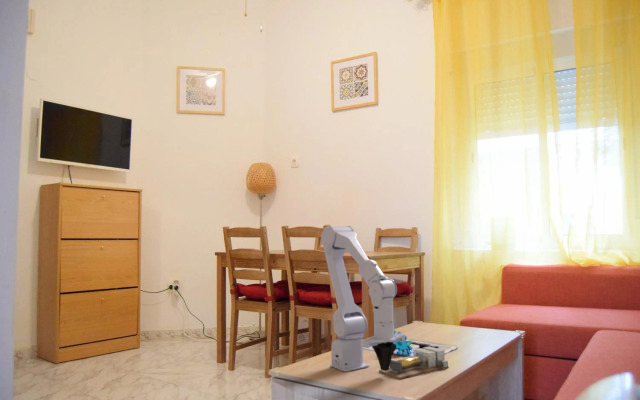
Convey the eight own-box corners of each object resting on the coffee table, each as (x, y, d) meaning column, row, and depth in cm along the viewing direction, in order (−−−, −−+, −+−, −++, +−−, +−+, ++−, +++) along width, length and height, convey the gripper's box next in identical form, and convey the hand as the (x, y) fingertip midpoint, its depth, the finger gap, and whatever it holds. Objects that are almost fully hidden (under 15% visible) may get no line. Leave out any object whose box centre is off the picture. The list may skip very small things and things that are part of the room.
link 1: (428, 368, 144) (428, 353, 144) (409, 363, 150) (409, 348, 151) (435, 366, 146) (435, 352, 146) (416, 361, 152) (416, 347, 152)
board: (400, 379, 135) (400, 375, 135) (378, 372, 143) (378, 368, 143) (448, 367, 147) (448, 363, 147) (426, 361, 154) (426, 357, 154)
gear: (395, 353, 158) (383, 328, 165) (386, 364, 161) (375, 339, 168) (420, 354, 163) (408, 329, 170) (411, 364, 166) (399, 339, 173)
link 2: (442, 367, 145) (441, 352, 145) (422, 362, 151) (422, 347, 152) (449, 365, 146) (448, 351, 147) (429, 360, 153) (429, 346, 153)
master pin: (400, 371, 139) (399, 362, 139) (389, 368, 142) (389, 359, 142) (424, 366, 144) (423, 357, 144) (413, 363, 148) (413, 354, 148)
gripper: (373, 326, 132) (374, 377, 131) (411, 320, 140) (412, 368, 139) (357, 322, 138) (358, 371, 137) (394, 317, 146) (396, 363, 145)
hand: (384, 369), depth 138 cm, fingers closed
